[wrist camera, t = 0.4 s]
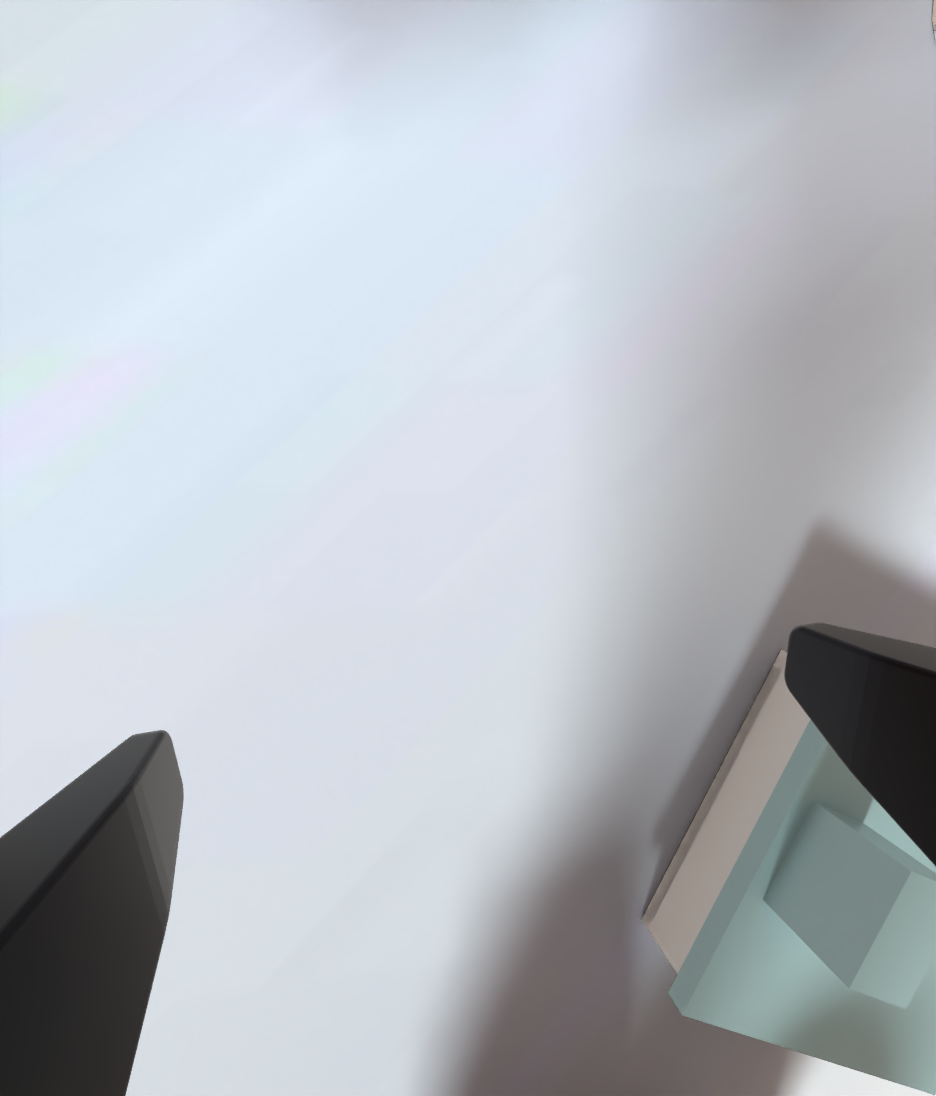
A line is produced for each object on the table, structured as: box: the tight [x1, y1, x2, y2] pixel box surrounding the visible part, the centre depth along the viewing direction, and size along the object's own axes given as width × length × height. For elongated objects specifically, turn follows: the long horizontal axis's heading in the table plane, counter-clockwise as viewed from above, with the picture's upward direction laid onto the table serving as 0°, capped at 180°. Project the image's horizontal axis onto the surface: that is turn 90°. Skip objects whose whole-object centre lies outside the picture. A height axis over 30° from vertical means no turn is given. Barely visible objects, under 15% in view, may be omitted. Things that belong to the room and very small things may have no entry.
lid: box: [668, 719, 936, 1095], centre depth 23 cm, size 14×13×6 cm
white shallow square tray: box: [641, 650, 810, 974], centre depth 27 cm, size 13×12×4 cm
